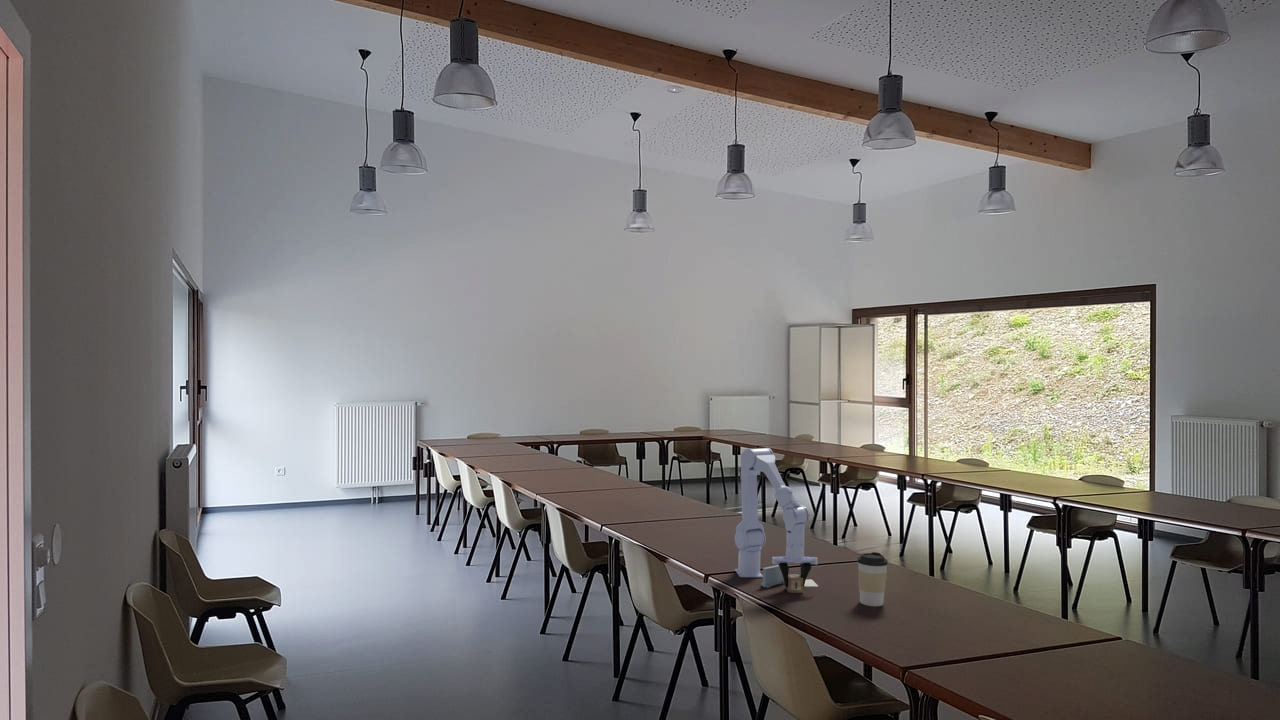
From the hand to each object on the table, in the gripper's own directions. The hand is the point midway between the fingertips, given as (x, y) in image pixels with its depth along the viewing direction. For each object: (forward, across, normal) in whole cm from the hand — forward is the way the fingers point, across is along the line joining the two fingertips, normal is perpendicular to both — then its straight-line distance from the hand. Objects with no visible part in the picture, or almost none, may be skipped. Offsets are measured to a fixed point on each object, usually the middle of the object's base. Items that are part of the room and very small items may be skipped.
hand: (794, 586), depth 270 cm
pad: (+1, +5, +8) cm, 10 cm away
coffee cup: (+2, +21, -13) cm, 25 cm away
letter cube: (+1, 0, 0) cm, 1 cm away
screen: (+1, -5, +7) cm, 9 cm away
